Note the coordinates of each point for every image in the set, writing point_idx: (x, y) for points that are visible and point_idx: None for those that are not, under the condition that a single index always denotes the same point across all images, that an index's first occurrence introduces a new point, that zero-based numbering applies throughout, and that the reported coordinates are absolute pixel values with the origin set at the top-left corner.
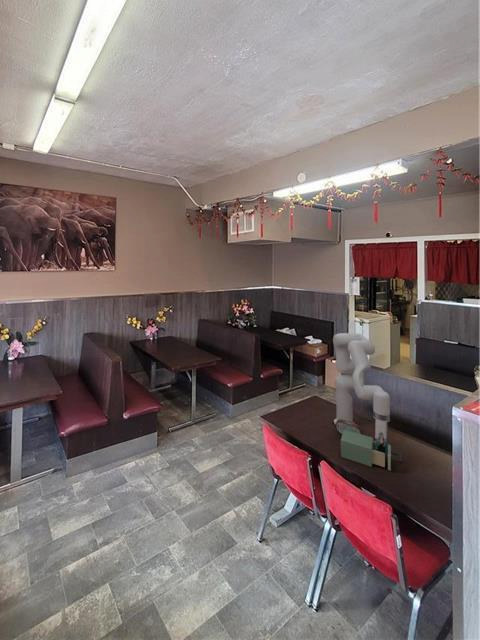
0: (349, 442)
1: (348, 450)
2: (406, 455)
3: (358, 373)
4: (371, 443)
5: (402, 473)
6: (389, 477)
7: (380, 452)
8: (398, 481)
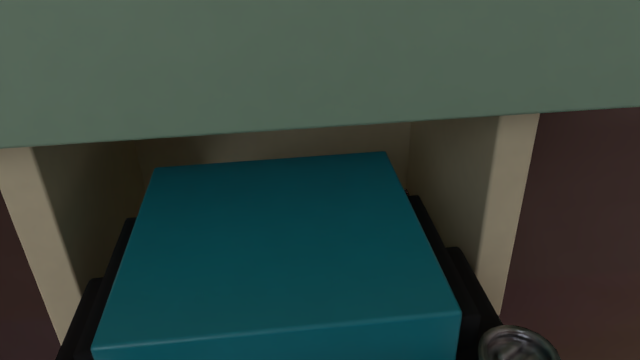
0: None
1: None
2: (614, 322)
3: None
4: (237, 108)
5: None
6: (6, 236)
7: (51, 294)
8: (15, 312)
